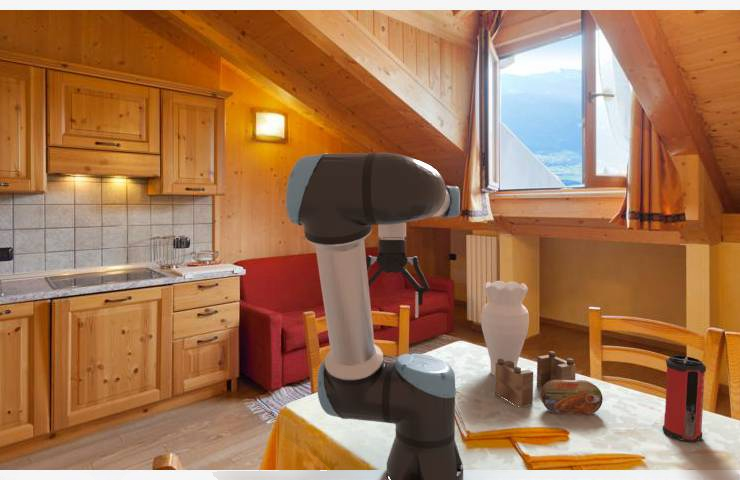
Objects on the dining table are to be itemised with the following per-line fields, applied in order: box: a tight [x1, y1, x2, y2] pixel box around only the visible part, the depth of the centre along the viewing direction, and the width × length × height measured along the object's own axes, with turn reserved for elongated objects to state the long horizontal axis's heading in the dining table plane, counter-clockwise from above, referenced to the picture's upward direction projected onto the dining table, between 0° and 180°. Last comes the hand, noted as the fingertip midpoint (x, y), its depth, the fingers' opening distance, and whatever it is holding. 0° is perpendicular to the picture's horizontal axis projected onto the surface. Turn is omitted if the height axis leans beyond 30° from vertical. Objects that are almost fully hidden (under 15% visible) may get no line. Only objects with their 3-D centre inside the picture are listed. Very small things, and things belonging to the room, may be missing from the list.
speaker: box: [662, 355, 707, 443], centre depth 107 cm, size 8×8×18 cm
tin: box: [540, 379, 604, 416], centre depth 120 cm, size 15×3×8 cm, turn 85°
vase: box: [480, 280, 530, 377], centre depth 146 cm, size 15×15×29 cm
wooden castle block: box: [494, 350, 577, 408], centre depth 130 cm, size 10×20×10 cm, turn 112°
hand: (391, 316), depth 126 cm, fingers open, 13 cm apart
